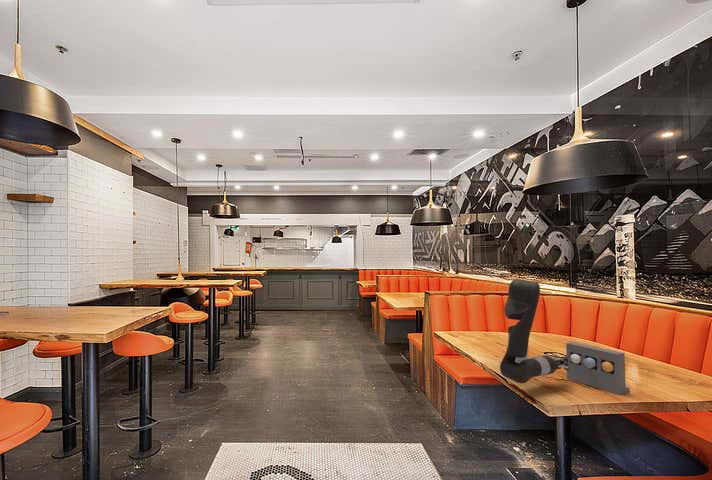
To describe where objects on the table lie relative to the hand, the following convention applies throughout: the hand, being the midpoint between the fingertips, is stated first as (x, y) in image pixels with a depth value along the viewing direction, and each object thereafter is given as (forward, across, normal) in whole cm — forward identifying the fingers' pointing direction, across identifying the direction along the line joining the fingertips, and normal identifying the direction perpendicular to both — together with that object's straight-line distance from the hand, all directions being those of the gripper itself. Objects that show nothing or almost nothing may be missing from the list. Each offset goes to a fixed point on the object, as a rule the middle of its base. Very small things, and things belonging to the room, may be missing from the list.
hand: (566, 360), depth 151 cm
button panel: (+11, -7, +10) cm, 16 cm away
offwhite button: (+8, 0, +2) cm, 8 cm away
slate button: (+6, -6, +2) cm, 9 cm away
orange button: (+8, -13, +2) cm, 15 cm away
